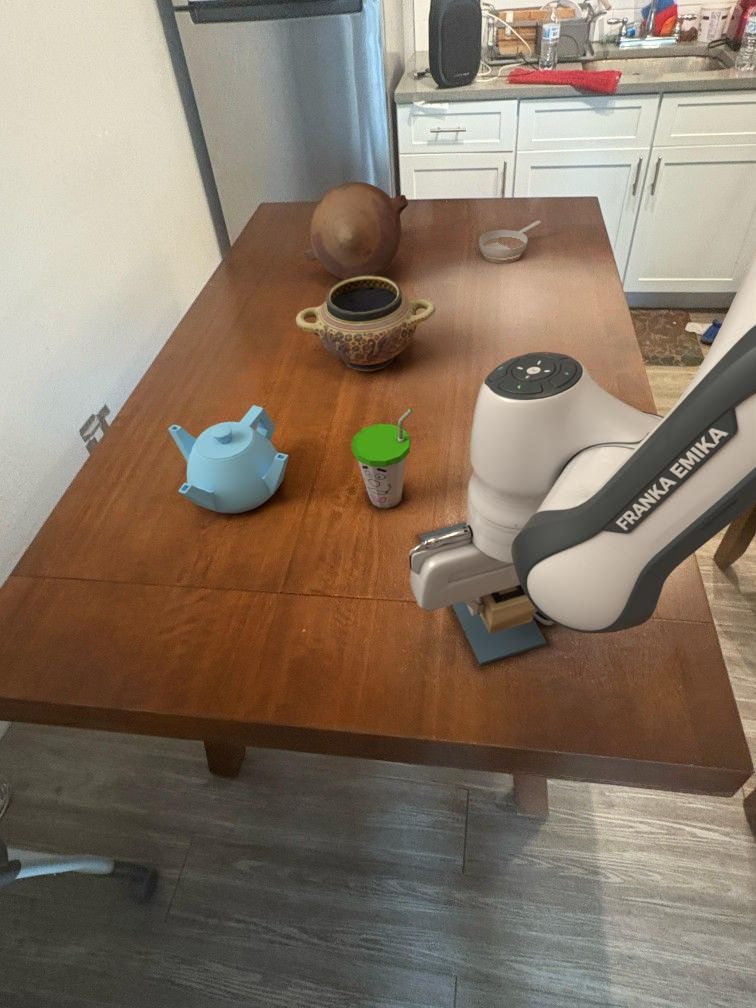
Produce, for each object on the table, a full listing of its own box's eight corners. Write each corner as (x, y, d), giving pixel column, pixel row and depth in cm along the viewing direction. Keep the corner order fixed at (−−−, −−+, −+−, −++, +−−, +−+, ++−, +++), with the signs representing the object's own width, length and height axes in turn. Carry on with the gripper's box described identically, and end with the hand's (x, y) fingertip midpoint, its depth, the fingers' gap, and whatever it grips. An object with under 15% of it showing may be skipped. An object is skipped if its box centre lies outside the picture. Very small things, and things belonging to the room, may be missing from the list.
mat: (546, 644, 68) (546, 641, 68) (480, 665, 67) (480, 663, 67) (475, 522, 82) (476, 519, 81) (420, 538, 81) (420, 535, 80)
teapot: (301, 506, 87) (288, 448, 79) (197, 536, 84) (172, 480, 76) (278, 443, 97) (264, 387, 89) (184, 468, 94) (162, 413, 87)
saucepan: (468, 256, 140) (469, 239, 137) (520, 231, 147) (522, 215, 144) (504, 269, 133) (505, 252, 131) (556, 243, 141) (558, 226, 138)
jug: (382, 303, 127) (409, 264, 150) (399, 202, 115) (427, 178, 138) (290, 279, 129) (332, 245, 152) (298, 178, 117) (342, 157, 140)
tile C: (532, 621, 66) (537, 596, 63) (489, 634, 65) (492, 610, 62) (512, 586, 69) (516, 561, 66) (471, 598, 69) (473, 573, 65)
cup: (349, 508, 85) (336, 425, 75) (372, 473, 90) (363, 390, 80) (400, 523, 83) (394, 438, 72) (421, 485, 88) (418, 401, 77)
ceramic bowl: (301, 392, 111) (283, 331, 98) (311, 322, 120) (296, 258, 107) (435, 390, 109) (434, 327, 96) (435, 319, 117) (435, 253, 104)
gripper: (420, 570, 53) (423, 653, 62) (630, 510, 56) (601, 598, 66) (397, 520, 57) (403, 605, 67) (593, 467, 60) (571, 555, 70)
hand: (502, 601), depth 66 cm, fingers closed on tile C, 5 cm apart
